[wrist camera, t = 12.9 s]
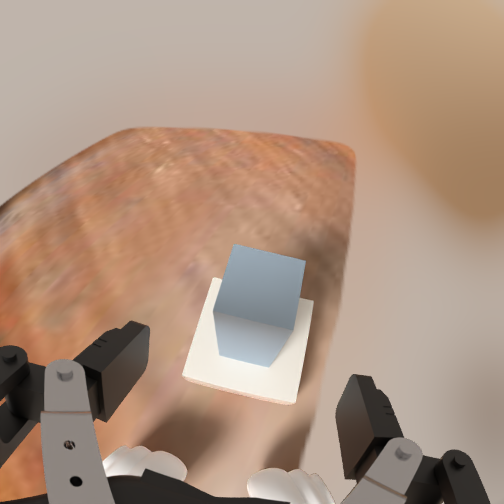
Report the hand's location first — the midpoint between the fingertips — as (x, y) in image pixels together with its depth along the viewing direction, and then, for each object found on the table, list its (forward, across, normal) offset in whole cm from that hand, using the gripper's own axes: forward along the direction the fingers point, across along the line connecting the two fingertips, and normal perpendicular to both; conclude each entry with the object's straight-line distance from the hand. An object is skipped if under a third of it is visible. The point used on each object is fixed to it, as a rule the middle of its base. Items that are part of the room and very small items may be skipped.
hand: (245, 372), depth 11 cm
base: (+14, 0, +7) cm, 16 cm away
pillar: (+12, 0, +5) cm, 13 cm away
